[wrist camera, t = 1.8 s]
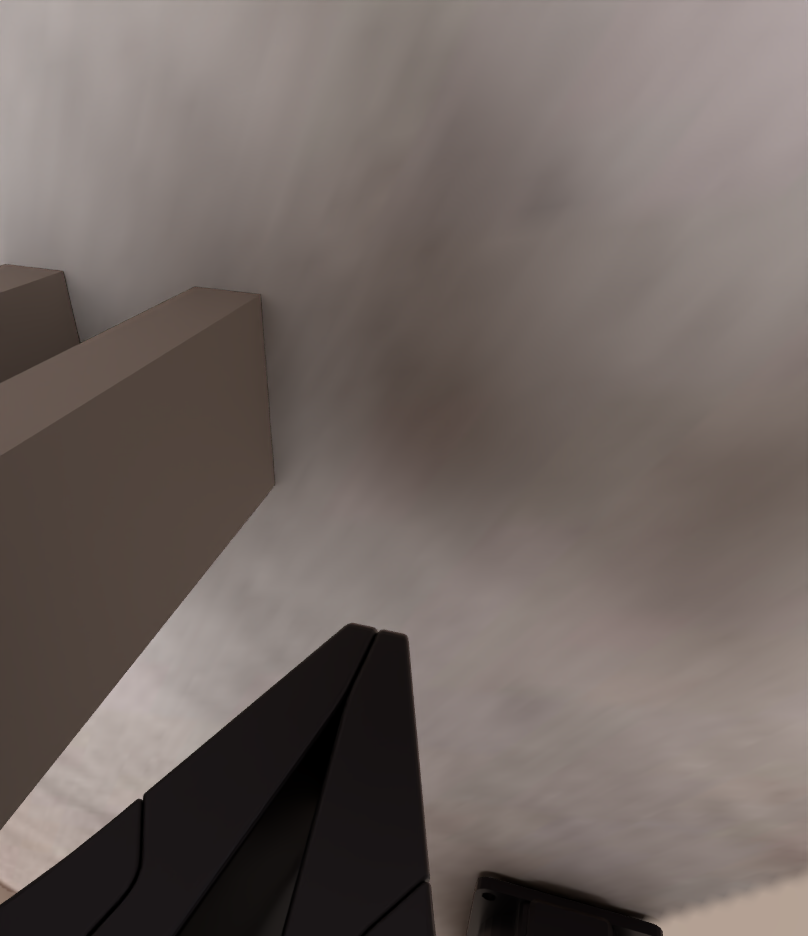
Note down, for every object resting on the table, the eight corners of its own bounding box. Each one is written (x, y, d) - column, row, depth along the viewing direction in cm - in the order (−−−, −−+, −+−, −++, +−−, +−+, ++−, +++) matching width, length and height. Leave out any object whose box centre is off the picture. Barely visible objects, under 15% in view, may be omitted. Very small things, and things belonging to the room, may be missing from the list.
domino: (260, 294, 14) (-224, 594, 6) (274, 485, 17) (-44, 884, 8) (194, 286, 14) (-360, 562, 6) (219, 475, 17) (-143, 850, 9)
